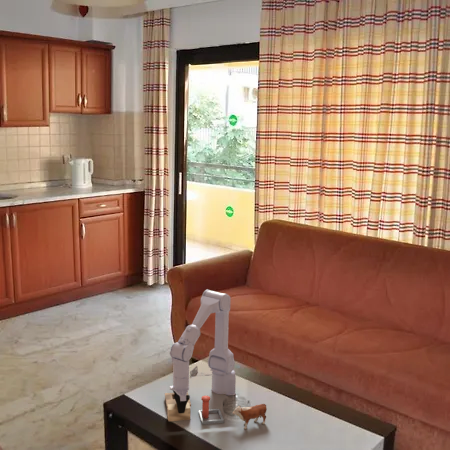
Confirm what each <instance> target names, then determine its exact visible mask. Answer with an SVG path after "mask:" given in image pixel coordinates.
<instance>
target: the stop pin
mask: <svg viewBox="0 0 450 450" xmlns="http://www.w3.org/2000/svg"><path fill="white" fill-rule="evenodd" d="M200 398H201V401H202V407H201V410H202V417H203V419H205V420H206V419H208V418H209V414H210V413H209V409H210V401H211V396H209V395H202V396H201V397H200Z"/></svg>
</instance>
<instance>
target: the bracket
mask: <svg viewBox="0 0 450 450" xmlns="http://www.w3.org/2000/svg"><path fill="white" fill-rule="evenodd" d="M198 371H199V370H198V365H195V366H194V367H193V368H192V369H191V370H189V378H190V377H191V378H192V377H194V376H195V375H197V373H198ZM205 376H212V373H205V372H201V373H200V374H198V377H205Z"/></svg>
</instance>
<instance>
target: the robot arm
mask: <svg viewBox="0 0 450 450" xmlns="http://www.w3.org/2000/svg"><path fill="white" fill-rule="evenodd" d="M231 298H232V297H231V296H230V295H229V293H223V292H219V291H215V290H210V289H205V290H204V291H203V292H202V295H201V297H200V307H199V309H198V311H197V313H196V315H195V317H194V319H193V321H192V323H191V324H189V325H187V326H186V327H185V330H184V331H183V332H182V334H181V336H180V337H179V339H178V341H177V342H174V343H173V344H172V345H171V347H170V351H169V355H170V357H171V362H172V364H173V365H172V377H173V378H172V385H169V390H171V391H172V393H174V394H175V395H174V399H175V401H176V404H177V408H178V413H184V412H185V408H186V405H187V402H188V400H189V399H190V398H191V395H190V394H188V395H187V392H188V393H189V390H190V379H189V378H190V359H191V358H192V356H193V354H194V353H193V352H194V350H195V345H196V342H197V341H198V340H199V337H201V328H202V327H203V325H204V324H205V322H206V321H207V320H208V318H209V316H210V315H211V314H214V313H215V315H214V316H215V318H214V319H215V321H214V324H215V325H214V327H215V328H214V347H213V348H212V349H211V350H210V351H209V352H208V353H209V355H208V359H207V365H208V368H210V371H211V374H212V375H211V391H212V393H215V394H218V395H224V394H225V395H226V397H227V396H236V383H237V382H236V377H237V376H236V371H235V365H236V362H235V359H234V353H233V352H232V351H231V350H230V349H229V321H230V320H229V318H230V312H231V303H232V301H231V300H232V299H231Z"/></svg>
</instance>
